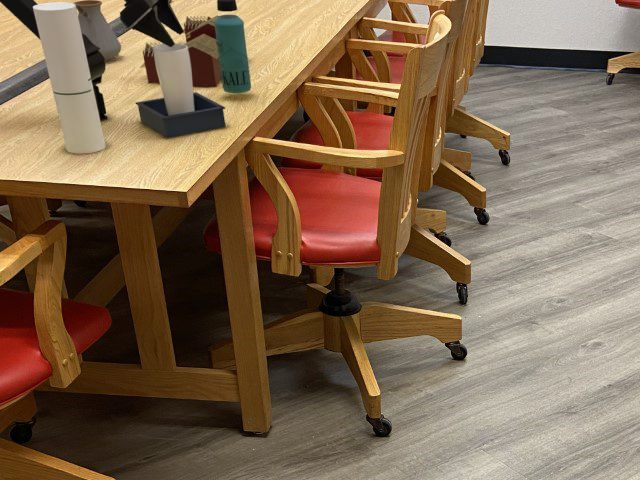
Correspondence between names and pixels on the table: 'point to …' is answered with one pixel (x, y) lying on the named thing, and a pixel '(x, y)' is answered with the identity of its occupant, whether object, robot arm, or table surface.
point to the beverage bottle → (232, 49)
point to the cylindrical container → (69, 76)
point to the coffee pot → (97, 28)
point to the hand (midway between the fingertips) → (177, 39)
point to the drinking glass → (175, 77)
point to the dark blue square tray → (182, 117)
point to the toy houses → (193, 53)
